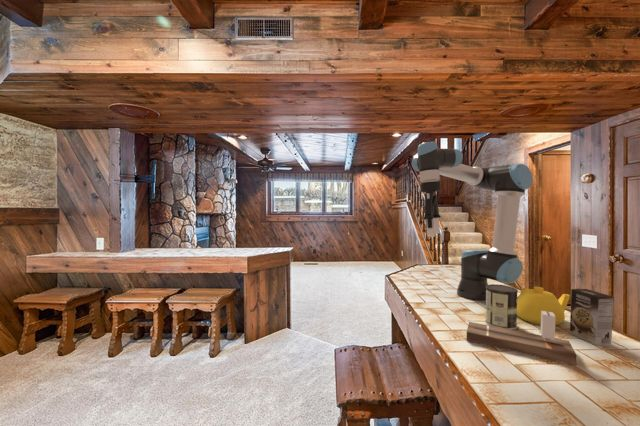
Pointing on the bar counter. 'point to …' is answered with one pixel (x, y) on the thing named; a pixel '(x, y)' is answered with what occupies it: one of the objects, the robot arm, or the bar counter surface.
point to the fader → (547, 325)
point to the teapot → (540, 305)
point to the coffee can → (501, 306)
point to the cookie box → (591, 316)
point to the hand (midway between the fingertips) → (433, 235)
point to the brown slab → (521, 342)
